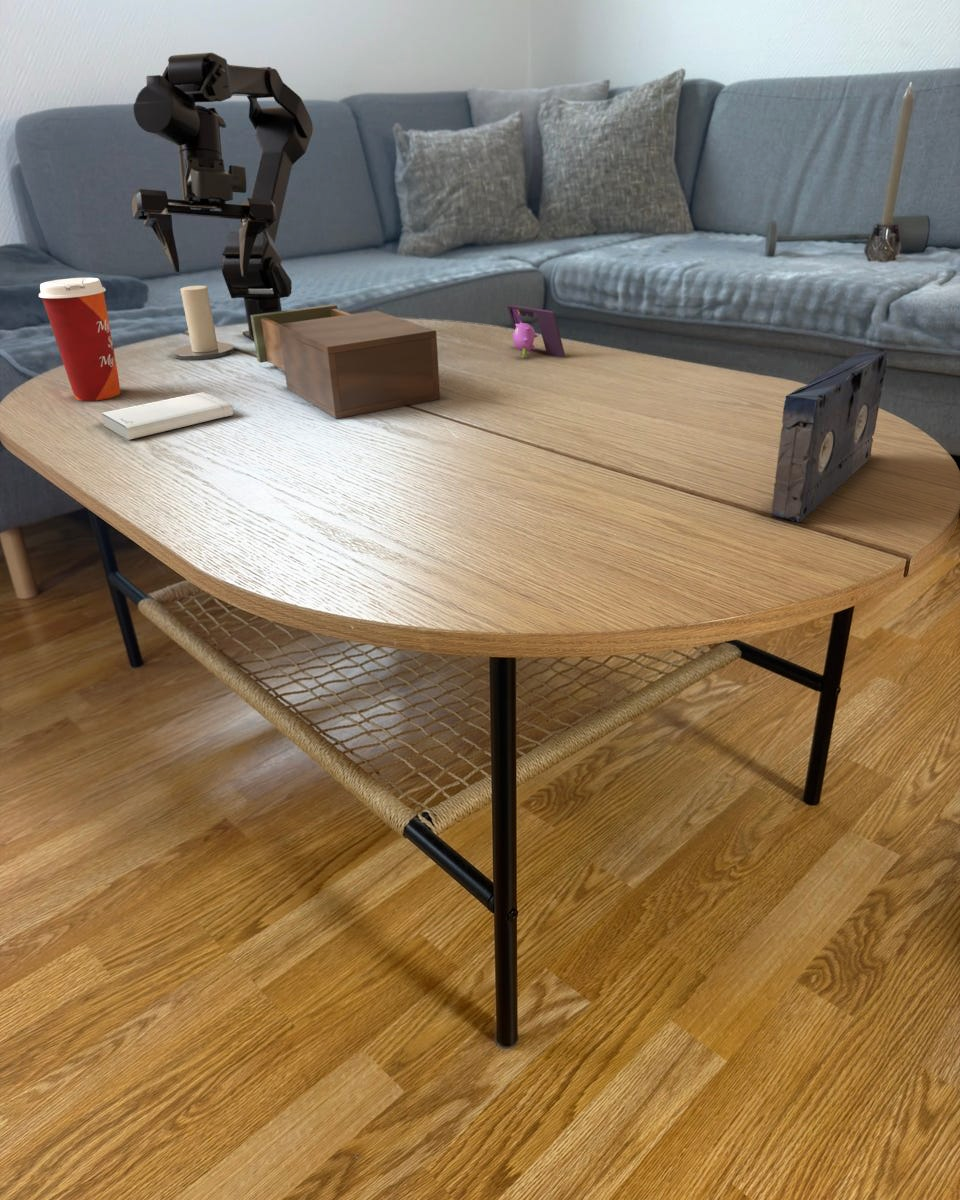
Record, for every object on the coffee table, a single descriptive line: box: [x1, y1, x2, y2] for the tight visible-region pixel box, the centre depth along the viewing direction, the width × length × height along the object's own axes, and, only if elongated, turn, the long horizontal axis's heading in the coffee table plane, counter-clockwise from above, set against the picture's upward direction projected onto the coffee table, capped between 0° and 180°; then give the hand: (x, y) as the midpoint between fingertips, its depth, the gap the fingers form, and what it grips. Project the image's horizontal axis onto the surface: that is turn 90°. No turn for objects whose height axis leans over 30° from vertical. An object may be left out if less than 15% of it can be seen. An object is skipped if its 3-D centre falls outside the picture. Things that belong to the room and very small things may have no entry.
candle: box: [180, 285, 218, 353], centre depth 130 cm, size 4×4×9 cm
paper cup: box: [38, 277, 121, 402], centre depth 109 cm, size 8×8×14 cm
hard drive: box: [100, 391, 234, 441], centre depth 101 cm, size 2×8×12 cm
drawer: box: [251, 304, 351, 372], centre depth 119 cm, size 20×12×6 cm, turn 30°
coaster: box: [172, 342, 235, 361], centre depth 133 cm, size 9×9×1 cm
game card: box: [507, 304, 566, 359], centre depth 122 cm, size 7×5×9 cm
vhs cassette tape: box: [770, 349, 888, 523], centre depth 74 cm, size 18×3×10 cm, turn 140°
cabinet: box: [278, 310, 441, 420], centre depth 107 cm, size 17×14×8 cm
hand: (211, 274), depth 123 cm, fingers open, 9 cm apart
